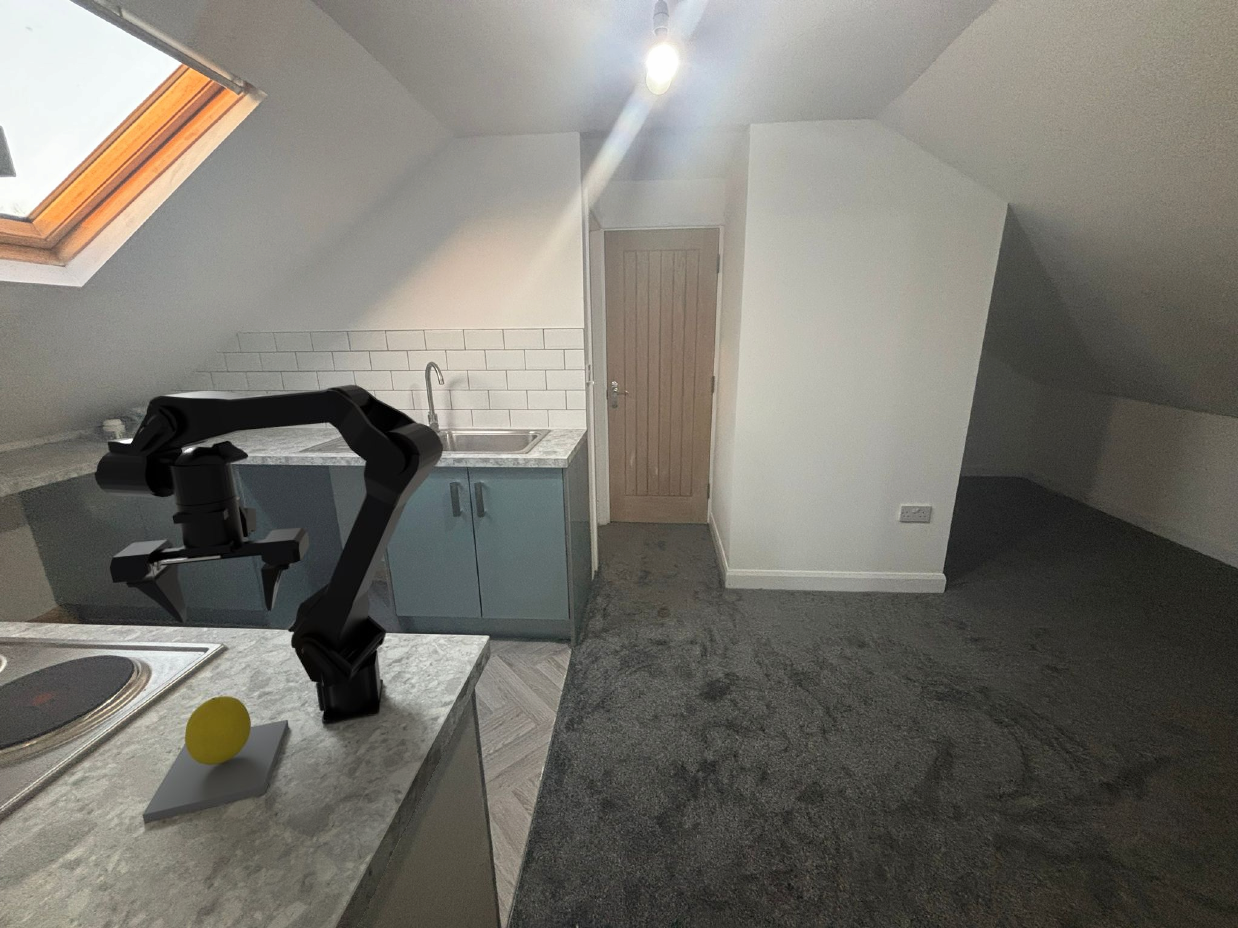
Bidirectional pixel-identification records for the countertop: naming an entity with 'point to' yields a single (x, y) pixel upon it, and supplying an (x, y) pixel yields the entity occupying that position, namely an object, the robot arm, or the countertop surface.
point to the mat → (219, 776)
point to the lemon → (217, 730)
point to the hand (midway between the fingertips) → (228, 615)
